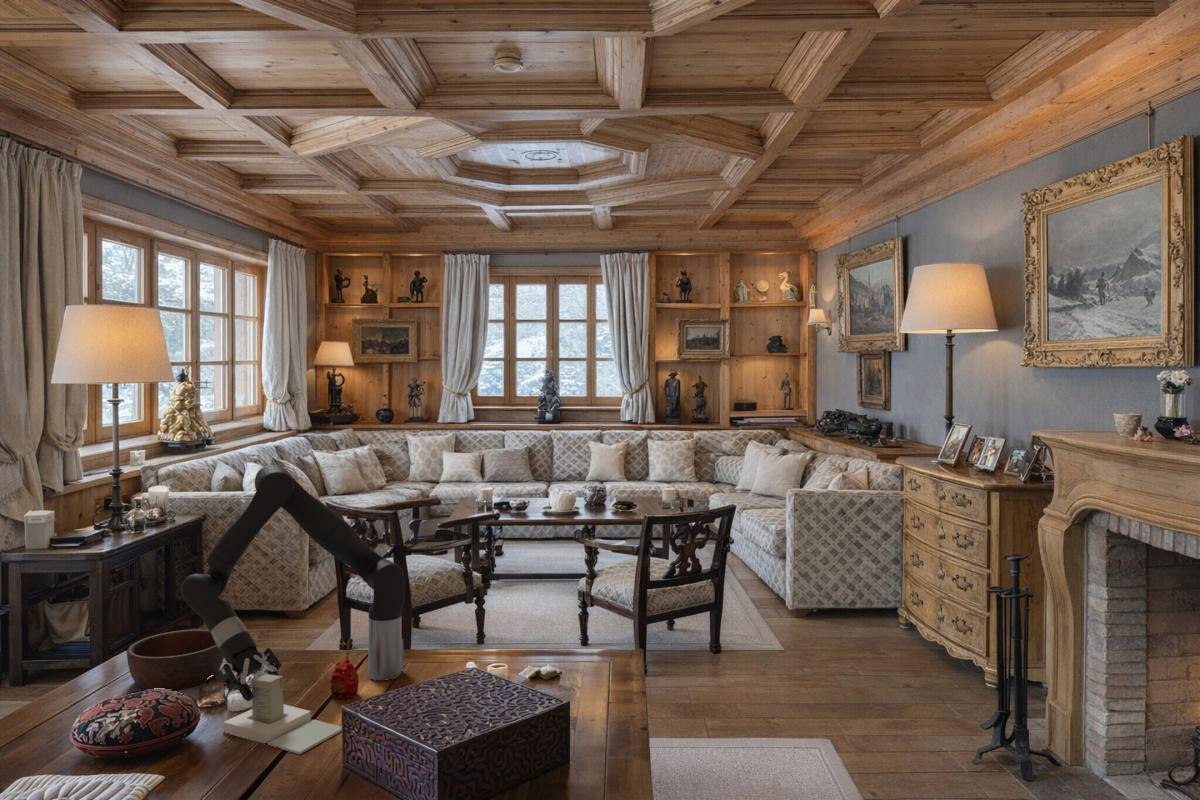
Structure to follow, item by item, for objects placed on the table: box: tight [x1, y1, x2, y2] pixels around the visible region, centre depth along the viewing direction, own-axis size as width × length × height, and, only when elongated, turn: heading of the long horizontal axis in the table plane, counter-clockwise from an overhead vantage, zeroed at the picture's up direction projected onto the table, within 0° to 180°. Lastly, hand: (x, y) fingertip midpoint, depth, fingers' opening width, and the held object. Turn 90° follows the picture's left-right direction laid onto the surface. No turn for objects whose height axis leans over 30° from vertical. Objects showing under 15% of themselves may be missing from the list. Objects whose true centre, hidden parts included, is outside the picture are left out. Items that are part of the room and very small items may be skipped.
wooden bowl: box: [126, 628, 225, 691], centre depth 219 cm, size 25×25×10 cm
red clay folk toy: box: [329, 637, 360, 700], centre depth 209 cm, size 8×7×15 cm
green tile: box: [267, 719, 342, 755], centre depth 184 cm, size 14×10×1 cm
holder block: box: [222, 703, 312, 743], centre depth 189 cm, size 14×14×2 cm
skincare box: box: [251, 674, 285, 724], centre depth 189 cm, size 6×4×12 cm
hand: (265, 692), depth 189 cm, fingers open, 8 cm apart
